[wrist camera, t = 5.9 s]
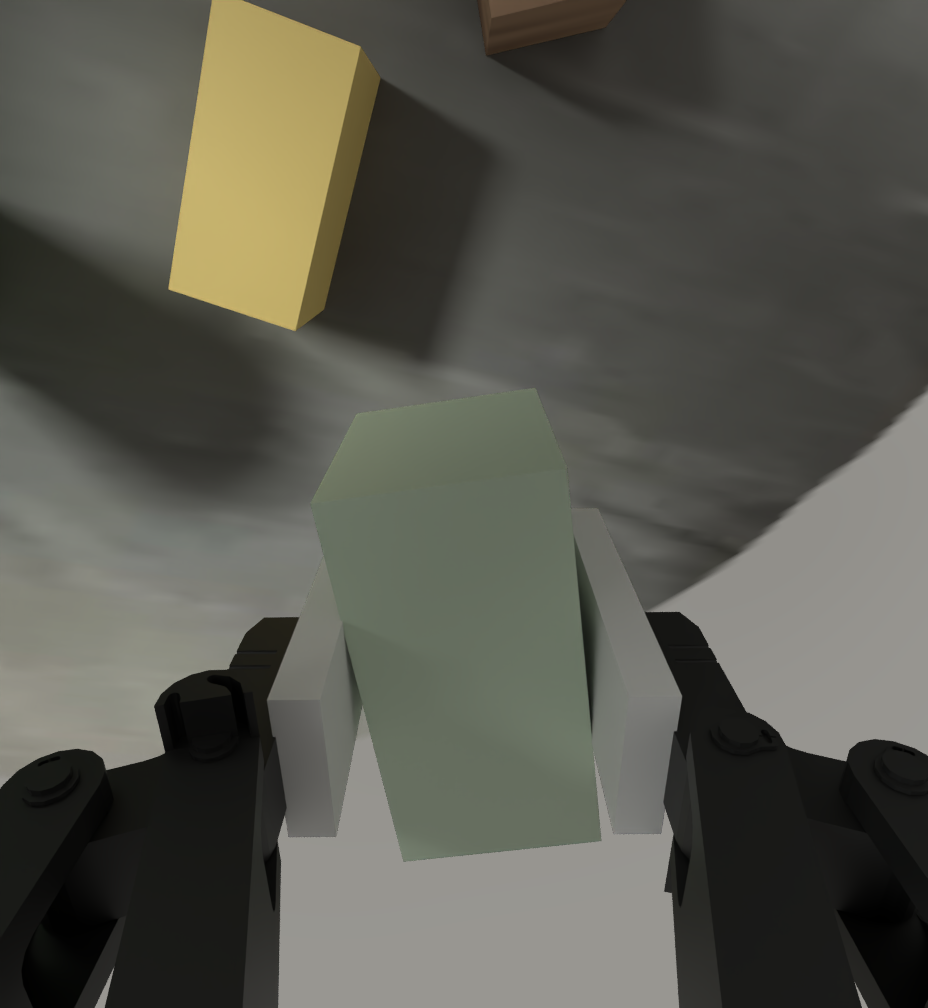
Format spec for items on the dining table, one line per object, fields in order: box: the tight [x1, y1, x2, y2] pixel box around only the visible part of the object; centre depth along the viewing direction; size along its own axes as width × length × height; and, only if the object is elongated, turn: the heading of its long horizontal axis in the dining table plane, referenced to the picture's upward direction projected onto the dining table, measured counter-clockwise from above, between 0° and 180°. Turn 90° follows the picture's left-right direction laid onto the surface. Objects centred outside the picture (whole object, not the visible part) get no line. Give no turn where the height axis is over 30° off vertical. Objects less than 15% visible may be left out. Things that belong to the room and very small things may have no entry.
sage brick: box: [310, 388, 601, 862], centre depth 14 cm, size 8×4×5 cm, turn 8°
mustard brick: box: [168, 0, 380, 331], centre depth 22 cm, size 8×4×5 cm, turn 162°
